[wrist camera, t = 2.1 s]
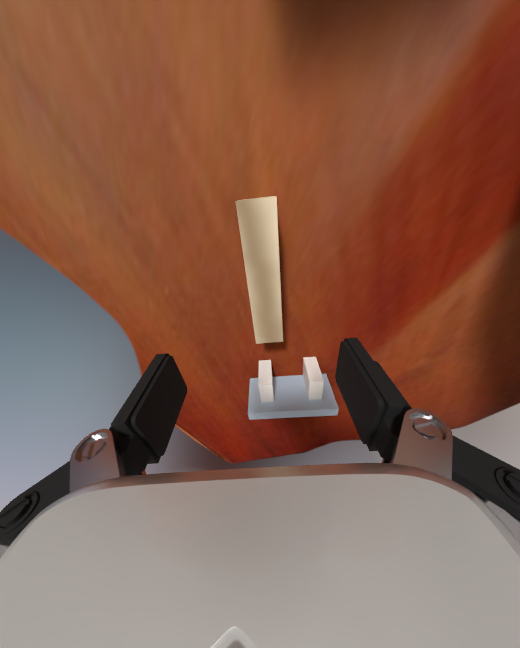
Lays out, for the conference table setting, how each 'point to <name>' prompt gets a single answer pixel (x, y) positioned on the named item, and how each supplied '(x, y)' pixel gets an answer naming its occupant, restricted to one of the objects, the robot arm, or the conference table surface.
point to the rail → (262, 265)
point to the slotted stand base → (291, 393)
